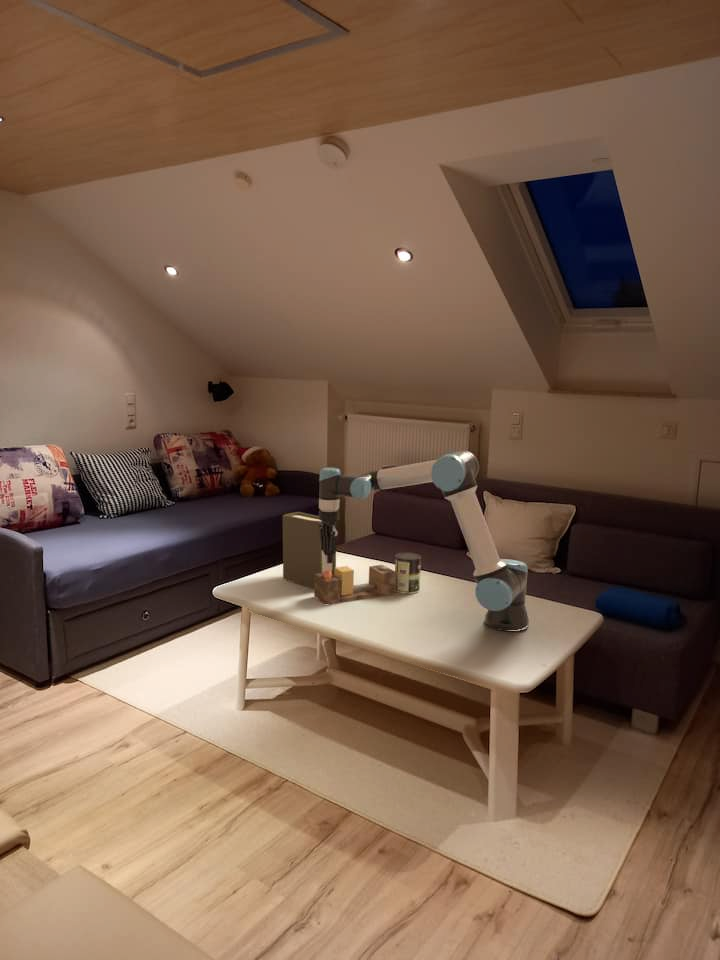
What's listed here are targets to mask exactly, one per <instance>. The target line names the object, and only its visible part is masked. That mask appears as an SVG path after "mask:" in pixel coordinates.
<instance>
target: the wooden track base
mask: <svg viewBox="0 0 720 960" xmlns="http://www.w3.org/2000/svg"><path fill="white" fill-rule="evenodd" d="M368 583H374V584H376V587H375V590H369V591H362V592H356V593H353V594H350V595H344V596H341V595H340V588H341V580H340V579H339V578H337V577H336V576H334V575H333V574H332V578H329V579H324V573H319V574H315V584H314V589H313V590H314V591H313V592H314V593H313V594H314V595H313V596H315V597H314V598H316V597H317V598H318V599H319V601H320V602H321V601H322V602H323V604H324V605H325V604H329V605H332V604H333V603H335V604H340V603H341V604H342V603H345V602H353V601H359V600H365V599H371V598H376V597H377V598H378V597H383V596H389V595H395V594H396V593H395V592H396V591H395V570H393V569H391V568H389V567H387V566H385V565H384V564H379V565H378V564H377V565H371V566H370V565H369V569H368ZM317 598H316V599H317ZM318 599H317V600H318ZM322 602H321V603H322ZM333 605H334V604H333Z"/></svg>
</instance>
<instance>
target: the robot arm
mask: <svg viewBox="0 0 720 960" xmlns="http://www.w3.org/2000/svg"><path fill="white" fill-rule="evenodd" d="M479 471H480V463H479V460H478V458H477V457H476V456H475V455H474V454H473V453H472V452H470V451H467V450H462V449H461V450H457V451H454V452H450V453H446V454H444V455H441V457H438V458H437V459H435V460H434V459H433V460H428V461H423V462H416V463H410V464H406V465H400V466H395V467H388V468H383V469H375V470H367V471H366V472H363V473H359V474H357V475H351V476H350V475H344V474H341V470H340V469H339V468H336V467H324V468H321V469H320V471H319V479H318V482H319V498H318V509H319V510H318V516H319V520H321V521H322V524H319V530H320V541H321V550H323V553H324V571H325V572H327V571H332V555H333V554H336V555H337V547H338V541H339V540H338V538H339V535H340V530H337V522H338V521H339V520H340V511H339V509H340V503H341V500H340V496H342V497H349V498H355V499H367V498H368V497H369V496H370V494H371V492H377V491H383V490H388V489H389V490H390V489H395V488H400V487H407V486H408V487H409V486H415V485H421V484H426V483H433V484H434V486H436V488H437V489H439V490H441V492H442V495H443V497H444V499H445V500H448V501H449V502H450V503H451V506H452V508H453V511H454V513H455V517H456V519H457V522H458V525H459V527H460V529H461V532H462V536H463V538H464V541H465V544H466V546H467V549H468V551H469V554H470V556H471V559H472V562H473V565H474V568H475V569H474V572H473V574H472V575H473V577H474V581H475V583H476V587H475V590H474V591H475V593H474V594H475V595H474V596H475V598H476V600H477V602H478V603H479V605H480V606H481V607H483V608H484V609H486V610H487V612H486V613H485V616H484V623H485V625H487V626H488V627H489V626H490V627H489V628H491V627H492V628H491V629H494V628H495V629H494V630H497V629H499V630H498V631H501V630H518V629H522V628H524V627H526V626H527V625H528V626H529V621H530V620H529V617H528V612H527V608H526V607H527V606H526V594H527V584H528V583H527V581H528V580H527V579H528V573H529V571H528V565H527V564H526V562H524V561H520V560H515V559H510V558H509V559H508V558H500V556H499V553H498V551H497V547H496V545H495V542H494V540H493V537H492V535H491V531H490V529H489V526H488V524H487V521H486V518H485V516H484V513H483V510H482V507H481V505H480V502H479V499H478V497H477V494H476V491H477V488H478V484H477V481H476V478H477V476H478V473H479ZM335 522H336V523H335ZM500 629H501V630H500Z"/></svg>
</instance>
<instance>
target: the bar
mask: <svg viewBox="0 0 720 960" xmlns="http://www.w3.org/2000/svg"><path fill="white" fill-rule="evenodd" d="M375 587H376V584H374V583H369V582H368V583H363V584H356V585H354V584H353V593H356V592H362V591H369V590H375Z"/></svg>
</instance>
